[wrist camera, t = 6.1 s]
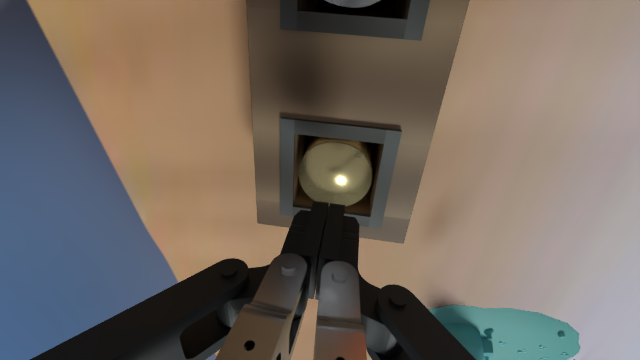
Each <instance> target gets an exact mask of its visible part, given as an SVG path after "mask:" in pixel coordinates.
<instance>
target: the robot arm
mask: <svg viewBox="0 0 640 360" xmlns="http://www.w3.org/2000/svg"><path fill="white" fill-rule="evenodd" d="M328 209H329V211H328ZM344 212H345V205H342V204H335V203H330V206H329V203H327V202H320V201H313V204H312V207H311V211H307V210H300V211H299V212H298V213H297V214H296V215H294V217H293V220H292V223H291V226H290V228H289V231H288V234H287V237H286V239H285V242H284V245H283V248H282V251H281V253H280V255H279V256H277V257H276V258H274V259H273V261H272V262H271V264H269V265H267V266H263V267H256V268H248V266H247V264H246V263H245V262H244V261H242V260H239V259H234V258H231V259H225V260H222V261H220V262H218V263H216V264H214V265H212V266H210V267H208V268H206V269H204V270H202V271H200V272H199V273H197V274H195V275H193V276H191V277H189V278H187V279H185V280H183V281H181V282H179V283H177V284H175V285H173V286H171V287H170V288H168V289H166V290H164V291H162V292H160V293H158V294H156V295H154V296H152V297H150V298H148V299H146V300H145V301H143V302H141V303H139V304H137V305H135V306H133V307H131V308H129V309H127V310H125V311H123V312H121V313H119V314H117V315H115V316H114V317H112V318H110V319H108V320H106V321H104V322H102V323H100V324H98V325H96V326H94V327H92V328H90V329H88V330H87V331H84V332H83V333H81V334H79V335H77V336H75V337H73V338H71V339H69V340H67V341H65V342H63V343H61V344H59V345H57V346H56V347H54V348H52V349H50V350H48V351H46V352H44V353H42V354H40V355H38V356H36V357H34V358H32V359H30V360H205V359H207V358H208V357H210V356H211V355H212V354H214V353H215V352H217V351H218V350H219V349H220V351H219V353H218V355H217V357H216V359H215V360H291V357H292V354H293V350H294V347H295V344H296V340H297V337H298V334H299V330H300V327H301V324H302V320H303V317H304V311H305V309H306V305H307V301H308V298H311V299H314V294H315V289H316V296H315V299H317V300H319V302H318V312H317V322H316V334H315V346H314V357H313V360H367V357H366V348H367V351H368V354H369V355H370V357H371V358H372V360H476V359H475V358H474V357H473V356H472V355H471V354H470V353H469V352H468V351H467V349H466V348H465V347H464V346H463V345H462V344H461V343H460V342H459V341H458V340H457V339H456V338H455V337H454V336H453V335H452V334H451V333H450V332H449V331H448V330H447V329H446V328H445V327H444V326H443V325H442V324H441V322H440V321H439V320H438V319H437V318H436V317H435V316H434V315H433V314H432V313H431V312H430V311H429V310H428V309H427V308H426V307H425V306H424V305H423V304H422V303H421V302H420V301H419V300H418V299H417V298H416V297H415V296H414V294H413V293H411V292H410V291H409V290H408V289H406V288H404V287H402V286H399V285H387V286H384V287H383V288H381V289H380V288H378V287H376V286H373V285H371V284H369V283H368V282H366V281H365V280H364V279H363V278H362V277H361V275H360V274H359V271H358V247H359V227H360V225H359V223H358V221H357V219H356V218H355V217H350V216H344ZM316 284H317V285H316Z"/></svg>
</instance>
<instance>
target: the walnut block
mask: <svg viewBox="0 0 640 360" xmlns="http://www.w3.org/2000/svg"><path fill="white" fill-rule="evenodd" d="M469 1H470V0H398V5H397V11H396V17H391V16H378V15H365V14H352V13H339V12H326V11H317V0H246V3H247V23H248V43H249V63H250V83H251V103H252V123H253V143H254V163H255V183H256V203H257V223H259V224H267V225H274V226H281V227H288V228H290V226H291V223H292V220H293V217H294V215H296V214H297V213H298V212H299V211H300V210H307V211H311V207H312V204H313V201H314V200H313V199H311V198H310V197H309V196H308V195H307V194H306V193H305V191H304V190H303V188H302V186H301V184H300V181H299V167H300V163H301V161H302V159H303V156H304V154H305V152H306V149H307V147H308V145H309V143H310V136H318V137H327V138H336V139H345V140H353V141H362V142H371V143H374V147H373V153H372V159H371V162H372V182H371V186H370V188H369V190H368V192H367V193H366V195H365V196H364V197H363V198H362V199H361V200H359V201H358V202H356V203H354V204H352V205H349V206H346V207H345V212H344V216H350V217H355V218H356V219H357V221H358V223H359V225H360V227H359V237H360V238H367V239H374V240H381V241H389V242H396V243H403V244H404V240H405V236H406V232H407V229H408V225H409V221H410V218H411V214H412V210H413V207H414V203H415V199H416V196H417V192H418V188H419V185H420V181H421V177H422V174H423V170H424V166H425V163H426V159H427V155H428V152H429V148H430V144H431V140H432V137H433V133H434V129H435V126H436V122H437V118H438V115H439V111H440V107H441V104H442V100H443V96H444V93H445V89H446V85H447V82H448V78H449V74H450V71H451V67H452V63H453V59H454V56H455V52H456V48H457V45H458V41H459V37H460V34H461V30H462V26H463V23H464V19H465V15H466V12H467V8H468V4H469ZM328 211H329V209H328Z"/></svg>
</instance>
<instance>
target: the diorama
mask: <svg viewBox="0 0 640 360" xmlns="http://www.w3.org/2000/svg"><path fill="white" fill-rule="evenodd" d="M429 311H430V312H431V313H432V314H433V315H434V316H435V317H436V318H437V319H438V320H439V321H440V322H441V324H442V325H443V326H444V327H445V328H446V329H447V330H448V331H449V332H450V333H451V334H452V335H453V336H454V337H455V338H456V339H457V340H458V341H459V342H460V343H461V344H462V345H463V346H464V347H465V348H466V349H467V351H468V352H469V353H470V354H471V355H472V356H473V357H474V358H475V359H476V360H566V359H568V358H571V357H573V356H575V355H576V354H577V353H578V352H579V350H580V345H579V343H578V341H579V333H578V332H577V331H576V330H574V329H573V328H572V327H571V326H570V325H569V324H568V323H565V322H563V321H560V320H557V319H554V318H552V317H549V316H546V315H543V314H541V313H538V312H530V311H524V310H518V309H512V308H479V307H474V306H461V305H450V306H444V307H438V308H432V309H429ZM574 360H575V359H574Z"/></svg>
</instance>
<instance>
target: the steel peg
mask: <svg viewBox="0 0 640 360" xmlns="http://www.w3.org/2000/svg"><path fill="white" fill-rule="evenodd" d="M325 1H327V2H329V3H332V4H335V5H339V6H345V7H351V8H362V7H367V6H370V5H373V4H375V3H377V2H379V1H380V0H325Z"/></svg>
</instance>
